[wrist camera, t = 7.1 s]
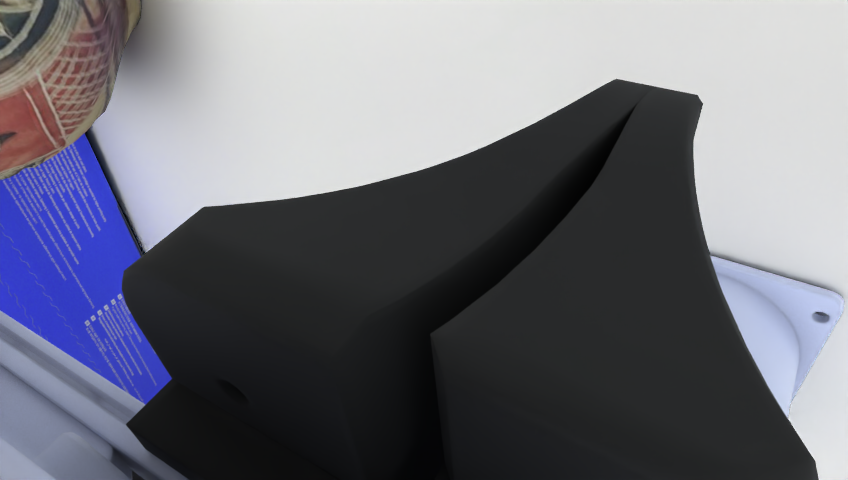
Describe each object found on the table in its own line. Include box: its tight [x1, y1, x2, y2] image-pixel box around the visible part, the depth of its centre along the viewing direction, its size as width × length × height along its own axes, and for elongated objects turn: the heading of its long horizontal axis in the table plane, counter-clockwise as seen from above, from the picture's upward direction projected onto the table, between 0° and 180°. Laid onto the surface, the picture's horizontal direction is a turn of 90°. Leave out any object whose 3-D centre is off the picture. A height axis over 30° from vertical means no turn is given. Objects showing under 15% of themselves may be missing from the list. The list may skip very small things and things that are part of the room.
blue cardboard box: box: [0, 133, 172, 405], centre depth 50 cm, size 39×8×18 cm, turn 178°
